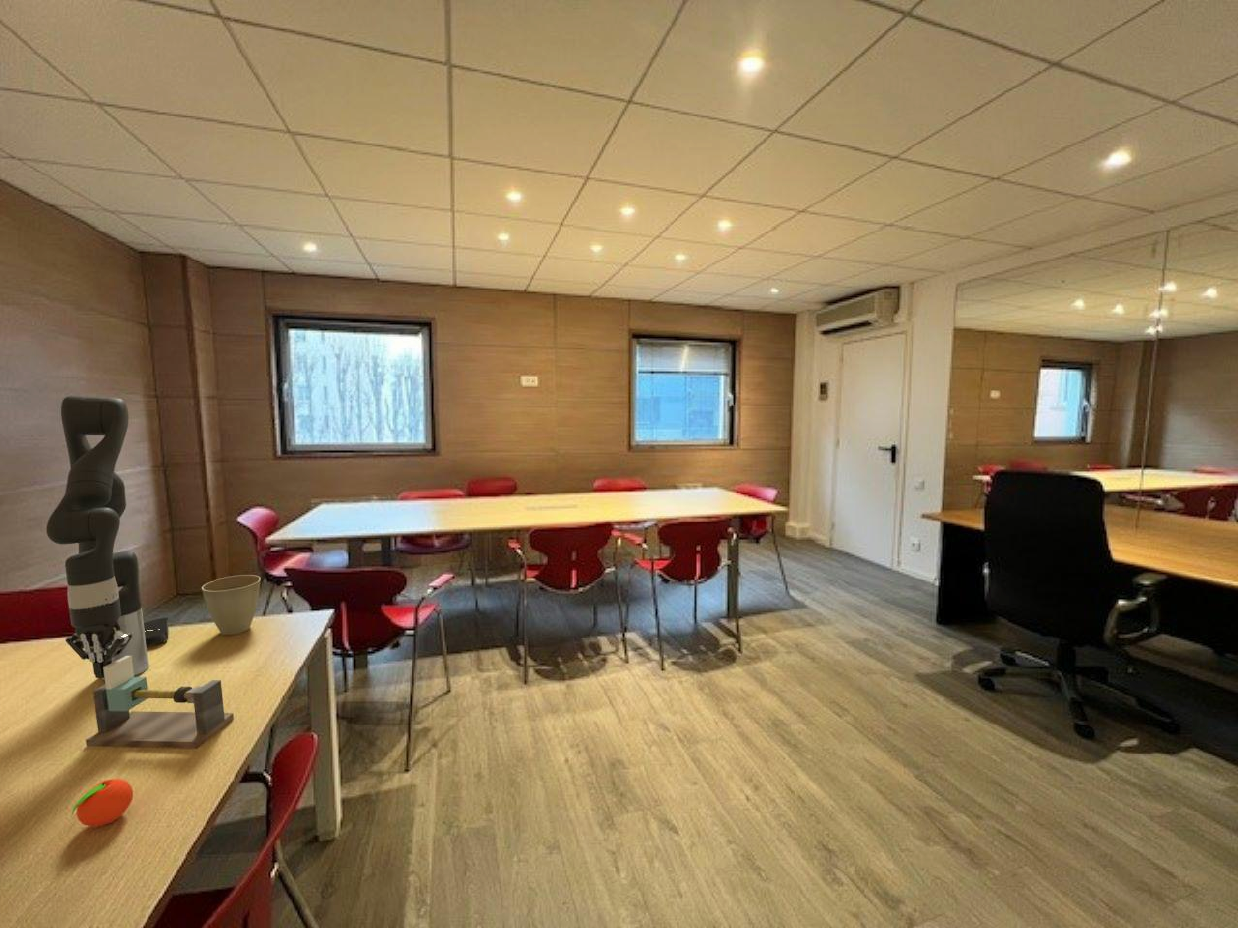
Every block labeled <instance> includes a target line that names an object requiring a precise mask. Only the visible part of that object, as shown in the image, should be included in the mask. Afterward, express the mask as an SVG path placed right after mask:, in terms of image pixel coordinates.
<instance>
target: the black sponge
mask: <svg viewBox="0 0 1238 928" xmlns="http://www.w3.org/2000/svg"><path fill="white" fill-rule="evenodd" d="M169 623H170V620H169V617H161V618H160V617H159V618H156V619H153V620H149V621H146V622H144V629H145V631H146V632H145V637H146V646H147V647H149V646H154V645H156V644H160V643H163V642H167V641H168V640H169V635H170V634H169V632H170V629H168V628H169V627H170V624H169ZM158 629H160V630H158ZM147 630H153V631H147Z"/></svg>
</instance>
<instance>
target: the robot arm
mask: <svg viewBox="0 0 1238 928" xmlns="http://www.w3.org/2000/svg"><path fill="white" fill-rule="evenodd" d="M60 404H61V405H60V406H61V407H60V416H61V423H62V427H63V428H62V429H63V434H64V438H65V443H66V449H67V452H68V457H69V458H68V459H69V464H70V469H69V472H68V476H67V481H66V486H65V487H66V488H65V493H64V495H63V497H62V498H61V500H60V502H59V503H58V505H57V506H56V507H55V509H54V511H53V512H52V513H51V515H50V517H49V518H48V521H47V523H46V526H45V527H46V530H45V531H46V534H47V537H48V538H49V540H50V541H52V542H53V543H55V544H58V545H75V544H78V553H76V554H75V553H74V554H72V555H70V556H69V557H67V558H66V560H65V561H64V562H65V563H64V567H65V568H64V569H65V574H66V581H67V582H66V583H67V593H66V595H67V603H68V611H69V617H70V625H71V626H72V627H73V628H75V630H74V632H75V633H73V635H70V636H69V637H66V638H65V642H66V643H67V644H68V645H69V646H70V648H72V650H73V651H74V652H75V653H76V654H77V655H78V656H79V657H80V658H81V660H83V661H85V660H89V662H90V663H91V664H92V668H93V669H92V670H93V674H94V677H95V679H101V680H102V681H103V682H105V677H104V669H103V667H105V666H107V665H109V664H111V663H113V662H115V661H117V660H119V659H121V658H123V657H125V656H132V662H133V671H134V677H136V676H137V675H140V674H142V673H143V672H145V671H147V670H148V669H149V667H150V665H149V656H148V655H149V654H148V646H146V637H145V629H144V623H145V622H144V620H145V619H144V613H143V604H142V600H141V590H140V568H139V566H140V565H139V560H138V557H137V554H136V553H135V552H134V551H132V550H122V551H116V552H114V547H115V543H116V539H117V536H118V532H119V529H120V528H119V527H120V524H121V520H120V519H121V517H122V516H123V514H124V512H125V510H126V508H127V507H126V506H127V501H126V500H127V499H126V488H125V484H124V481H123V479H122V478H121V477H120V476H119V475H118V474H117V473H116V472H115V468H116V465H117V462H118V458H119V456H120V453H121V450H122V447H123V444H124V441H125V438H126V435H127V432H128V428H129V409H128V406H127V404H126V402H125V401H124V399H121V398H117V397H109V396H108V397H107V396H88V395H86V396H84V395H83V396H82V395H67V396H66V397H64V398H63V399H62V401H61V403H60ZM87 436H103V438H102V439H101V440H100V441H99V442H98V443H97V444H96V445H95V446H93V447H91V444H90V443H89V441H88V438H87ZM119 588H120V590H119Z"/></svg>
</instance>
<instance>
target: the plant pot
mask: <svg viewBox="0 0 1238 928" xmlns="http://www.w3.org/2000/svg"><path fill="white" fill-rule="evenodd" d="M260 587H261V577H260V576H259V575H252V574H241V575H233V576H227V577H222V578H218V579H215V580H212V581H208V582H207V583H204V584H203V585H202V586H201V591H202V594H203V597H204V602H205V604H206V607H207V610H208V612H209V615H210V617H211V619H212V620H213V622H214V625H215V626H216V628H217V629H218V632H219V633H220V634H221V635H222V636H234V635H238V634H242V633H245V632H246V631H248V630H249V629H250V628H251V625H252V622H253V621H254V617H255V614H256V610H257V605H258V601H259V598H260V597H259V596H260V590H261V589H260Z"/></svg>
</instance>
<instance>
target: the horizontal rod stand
mask: <svg viewBox="0 0 1238 928" xmlns="http://www.w3.org/2000/svg"><path fill="white" fill-rule="evenodd" d="M131 693H132V698H148V699H173V701H174V702H175V703H179V704H180V703H181V704H183V703H187V704H193V707H194V712H193V711H192V712H191V711H190V712H189V711H187V712H186V711H135V710H134V711H130V710H128V711H109V708H108V700H107V692H106V685H105V684H103V685H102V686H100V687H98V688H97V689H95V690H93V691H92V695H93V702H94V710H95V711H94V712H95V718H96V727H97V732H96V733H95V734H93V735H91V736H90V737H89V738H86V739H85V742H86V743H85V744H86V747H92V748H93V747H96V748H97V747H101V748H103V747H104V748H154V749H157V748H158V749H159V748H160V749H198V748H199V747H201V746H202V745H204V744H205V743H206V742H208V741H209V740H210V739H211V738H212V737H214V736H215V735H216V734H217V733H219V732H220V731H221V730H222V729H224V728H225V727H226V726H227V725H228V724H230V723H231V722H232V721H234V719H235V715H234V712H225V709H224V699H223V688H222V680H221V679H220V680H219V679H216V680H215V679H212V680H210V681H209V682H207V683H206V684H204V685H203V686H194V687H191V686H180V687H178V688H177V689H175V690H171V689H170V690H168V689H167V690H164V689H162V690H160V689H148V690H134V691H132V692H131Z"/></svg>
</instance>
